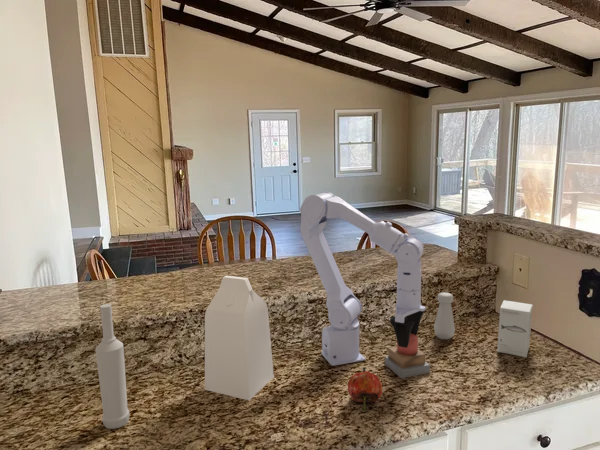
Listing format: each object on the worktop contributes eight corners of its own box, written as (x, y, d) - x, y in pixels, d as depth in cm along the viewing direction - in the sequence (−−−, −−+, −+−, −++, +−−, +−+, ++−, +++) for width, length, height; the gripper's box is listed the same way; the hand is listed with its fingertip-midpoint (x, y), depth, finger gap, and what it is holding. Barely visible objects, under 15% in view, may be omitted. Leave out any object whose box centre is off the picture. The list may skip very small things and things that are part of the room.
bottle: (107, 415, 96) (96, 302, 92) (132, 413, 97) (123, 300, 93) (99, 430, 91) (87, 310, 87) (125, 428, 92) (115, 309, 88)
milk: (273, 376, 111) (270, 273, 107) (249, 400, 101) (244, 287, 97) (232, 367, 116) (227, 268, 112) (204, 389, 106) (198, 281, 102)
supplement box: (496, 352, 122) (498, 307, 120) (500, 342, 128) (503, 299, 126) (527, 358, 118) (530, 311, 116) (530, 347, 125) (533, 303, 122)
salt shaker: (455, 341, 129) (457, 297, 127) (434, 340, 131) (435, 296, 128) (453, 333, 135) (454, 291, 133) (432, 332, 136) (434, 290, 134)
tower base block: (401, 380, 110) (401, 370, 109) (384, 365, 117) (384, 356, 117) (429, 374, 112) (430, 364, 112) (412, 360, 120) (412, 351, 119)
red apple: (383, 420, 96) (387, 376, 103) (376, 406, 92) (380, 360, 98) (349, 418, 99) (354, 374, 106) (341, 403, 94) (347, 359, 101)
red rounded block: (403, 356, 111) (403, 342, 110) (393, 348, 116) (393, 334, 115) (421, 353, 112) (421, 339, 112) (410, 345, 117) (410, 331, 116)
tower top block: (402, 368, 110) (402, 358, 110) (388, 357, 116) (388, 347, 116) (425, 363, 113) (425, 354, 112) (410, 352, 119) (410, 343, 118)
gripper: (416, 298, 103) (415, 355, 105) (432, 282, 115) (431, 333, 118) (386, 294, 107) (386, 349, 109) (405, 278, 119) (404, 328, 121)
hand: (407, 340), depth 113 cm, fingers open, 7 cm apart
